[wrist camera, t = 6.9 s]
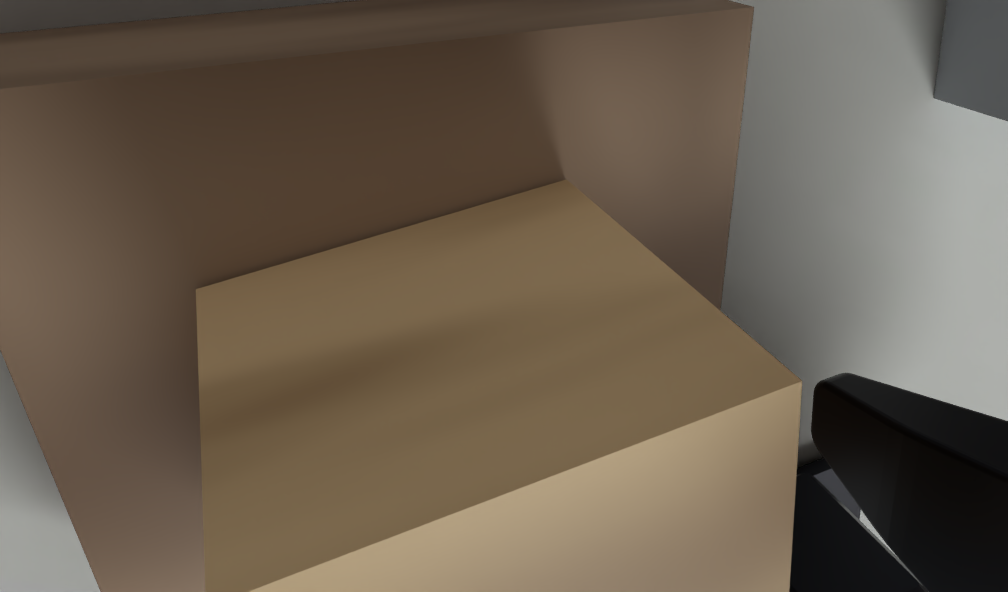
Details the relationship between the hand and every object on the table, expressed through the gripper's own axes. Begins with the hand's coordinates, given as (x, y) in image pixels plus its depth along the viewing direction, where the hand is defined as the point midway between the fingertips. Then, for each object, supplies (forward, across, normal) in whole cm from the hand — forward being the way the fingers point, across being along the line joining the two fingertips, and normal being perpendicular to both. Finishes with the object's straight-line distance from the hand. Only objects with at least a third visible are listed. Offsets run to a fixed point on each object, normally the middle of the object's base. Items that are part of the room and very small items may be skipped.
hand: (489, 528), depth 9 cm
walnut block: (+7, 0, 0) cm, 7 cm away
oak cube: (+3, 0, 0) cm, 3 cm away
